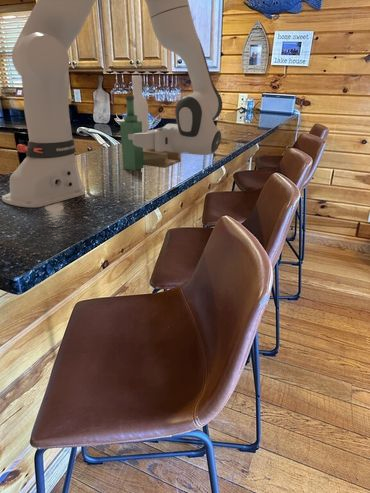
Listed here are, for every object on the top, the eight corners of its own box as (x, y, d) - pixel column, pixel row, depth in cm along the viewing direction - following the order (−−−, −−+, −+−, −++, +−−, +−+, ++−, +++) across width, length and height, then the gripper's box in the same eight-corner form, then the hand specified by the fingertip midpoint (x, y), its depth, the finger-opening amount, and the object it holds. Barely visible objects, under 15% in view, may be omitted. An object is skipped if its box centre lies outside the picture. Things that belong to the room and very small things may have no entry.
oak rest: (164, 167, 130) (164, 153, 128) (139, 164, 134) (138, 150, 132) (180, 161, 139) (180, 148, 137) (156, 158, 144) (156, 145, 142)
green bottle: (135, 170, 126) (131, 96, 115) (123, 169, 128) (118, 95, 118) (143, 167, 130) (140, 95, 120) (131, 166, 132) (127, 94, 122)
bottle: (146, 158, 144) (143, 75, 131) (128, 157, 146) (123, 75, 133) (152, 154, 151) (149, 75, 138) (134, 153, 153) (130, 75, 140)
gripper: (187, 124, 124) (153, 121, 130) (155, 131, 108) (118, 128, 113) (187, 143, 127) (154, 139, 132) (156, 152, 110) (120, 148, 116)
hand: (137, 134), depth 123 cm, fingers open, 8 cm apart
